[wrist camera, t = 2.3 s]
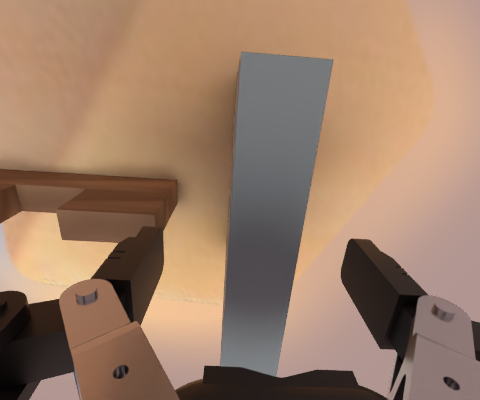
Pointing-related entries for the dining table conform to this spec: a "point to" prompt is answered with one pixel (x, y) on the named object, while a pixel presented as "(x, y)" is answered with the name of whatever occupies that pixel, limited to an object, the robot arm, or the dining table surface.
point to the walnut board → (89, 202)
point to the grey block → (268, 199)
